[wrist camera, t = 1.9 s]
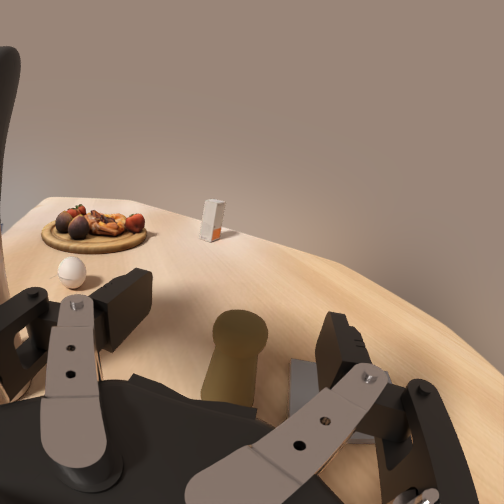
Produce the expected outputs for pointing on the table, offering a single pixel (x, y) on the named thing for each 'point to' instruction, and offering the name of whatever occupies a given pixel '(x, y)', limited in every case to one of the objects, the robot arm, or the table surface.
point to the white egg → (72, 272)
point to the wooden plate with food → (94, 232)
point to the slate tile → (312, 392)
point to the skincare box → (212, 220)
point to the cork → (235, 358)
